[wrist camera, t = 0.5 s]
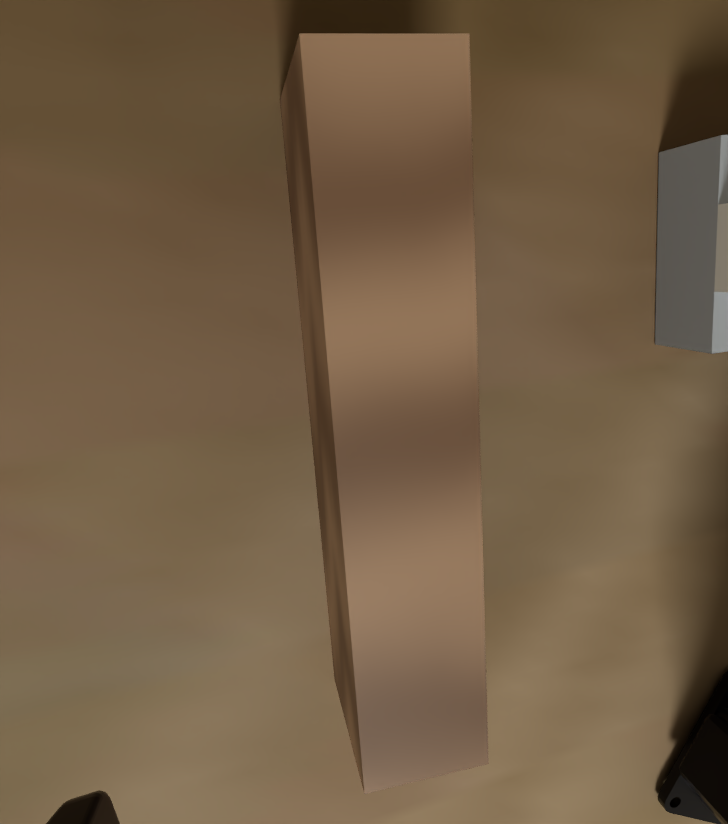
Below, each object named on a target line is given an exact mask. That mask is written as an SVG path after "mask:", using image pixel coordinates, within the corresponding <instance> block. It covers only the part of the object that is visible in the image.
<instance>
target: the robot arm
mask: <svg viewBox="0 0 728 824" xmlns="http://www.w3.org/2000/svg"><path fill="white" fill-rule="evenodd" d="M658 801H659V802H660V804H661V805H662V806H663V807H664V809H665V810H666V811H667V812H669V813H673V814H677V815H682V816H686V817H690V818H694V819H699V820H703V821H707V822H712V823H716V824H728V671H727V672H726V673H725V674H724V676H723V678H722V679H721V681H720V683H719V685H718V687H717V688H716V690H715V692H714V694H713V696H712V697H711V699H710V701H709V703H708V705H707V707H706V708H705V710H704V712H703V714H702V716H701V717H700V719H699V721H698V723H697V725H696V726H695V728H694V730H693V732H692V734H691V735H690V737H689V739H688V741H687V743H686V745H685V746H684V748H683V750H682V752H681V754H680V755H679V757H678V759H677V761H676V763H675V764H674V766H673V768H672V770H671V772H670V774H669V775H668V777H667V779H666V781H665V783H664V784H663V786H662V788H661V790H660V792H659V794H658ZM46 824H120V823H119V820H118V818H117V815H116V812H115V810H114V807H113V804H112V801H111V799H110V797H109V796H108V795H107V793H106V792H103V791H96V792H92V793H89V794H86V795H83V796H80V797H76V798H73V799H71V800H68V801H66V802H65V803H64V804H63V805H62V806H61V807H60V808H59V809H58V810H57V811H56V812H55V814H54V815H53V816H52V817H51V818H50V820H49V821H48V822H47V823H46Z"/></svg>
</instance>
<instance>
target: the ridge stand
mask: <svg viewBox="0 0 728 824" xmlns="http://www.w3.org/2000/svg"><path fill="white" fill-rule="evenodd" d="M655 344H657V345H663V346H669V347H675V348H681V349H687V350H693V351H699V352H705V353H711V354H712V353H719V352H726V351H728V135H720V136H716V137H713V138H709V139H706V140H702V141H698V142H695V143H691V144H688V145H684V146H681V147H677V148H673V149H670V150H666V151H663V152H659V176H658V224H657V272H656V321H655Z"/></svg>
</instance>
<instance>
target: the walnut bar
mask: <svg viewBox="0 0 728 824" xmlns="http://www.w3.org/2000/svg"><path fill="white" fill-rule="evenodd" d="M280 107H281V117H282V128H283V138H284V149H285V159H286V170H287V181H288V191H289V202H290V212H291V223H292V233H293V244H294V255H295V265H296V276H297V286H298V297H299V307H300V318H301V329H302V339H303V350H304V360H305V371H306V381H307V392H308V402H309V413H310V424H311V434H312V445H313V455H314V466H315V476H316V487H317V498H318V508H319V519H320V529H321V540H322V550H323V561H324V572H325V582H326V593H327V603H328V614H329V624H330V635H331V645H332V656H333V667H334V677H335V683H336V686H337V690H338V694H339V698H340V702H341V706H342V709H343V713H344V717H345V721H346V725H347V729H348V732H349V736H350V740H351V744H352V748H353V752H354V756H355V759H356V763H357V767H358V771H359V775H360V779H361V782H362V786H363V790H364V794H367V793H371V792H375V791H379V790H383V789H387V788H391V787H395V786H400V785H404V784H408V783H412V782H416V781H420V780H424V779H428V778H433V777H437V776H441V775H445V774H449V773H453V772H457V771H461V770H466V769H470V768H474V767H478V766H482V765H486V764H488V727H487V689H486V651H485V613H484V575H483V537H482V498H481V460H480V422H479V384H478V346H477V308H476V270H475V231H474V193H473V155H472V117H471V79H470V41H469V34H363V33H299V37H298V40H297V43H296V47H295V50H294V54H293V57H292V60H291V64H290V67H289V71H288V74H287V77H286V81H285V84H284V88H283V91H282V94H281V98H280Z"/></svg>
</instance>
